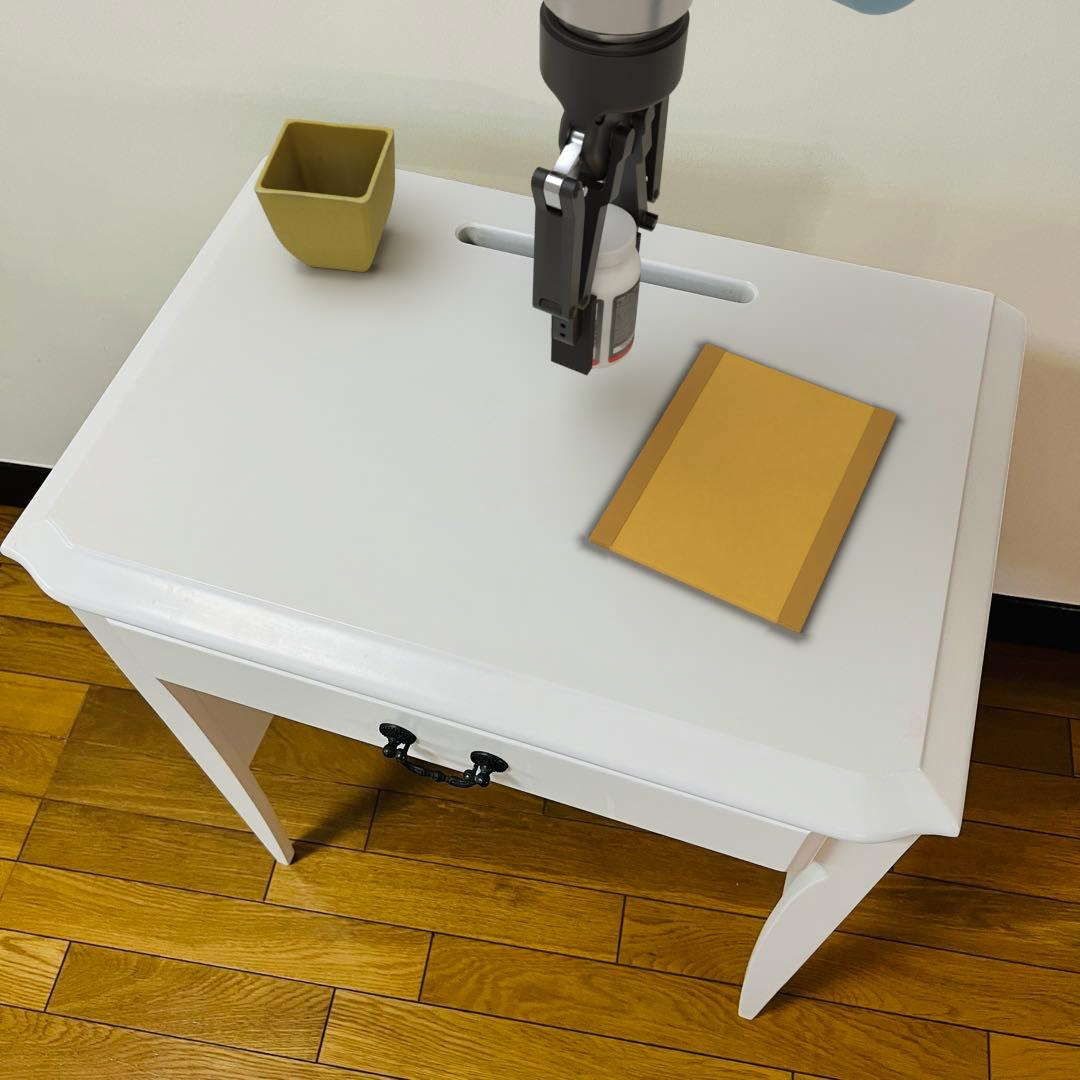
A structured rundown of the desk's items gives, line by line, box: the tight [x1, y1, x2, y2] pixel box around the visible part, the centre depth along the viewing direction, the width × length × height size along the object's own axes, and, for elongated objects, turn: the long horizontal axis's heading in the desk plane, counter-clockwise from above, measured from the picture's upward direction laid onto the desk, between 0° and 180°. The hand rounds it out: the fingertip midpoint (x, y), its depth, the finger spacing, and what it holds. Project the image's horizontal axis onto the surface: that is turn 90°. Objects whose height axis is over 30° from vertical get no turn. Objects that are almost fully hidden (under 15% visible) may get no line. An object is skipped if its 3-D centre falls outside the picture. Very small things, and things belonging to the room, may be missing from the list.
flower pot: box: [253, 118, 396, 273], centre depth 82 cm, size 9×9×9 cm
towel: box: [589, 343, 898, 634], centre depth 73 cm, size 15×20×1 cm
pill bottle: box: [550, 204, 642, 370], centre depth 68 cm, size 6×6×10 cm
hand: (592, 333), depth 71 cm, fingers closed on pill bottle, 6 cm apart
